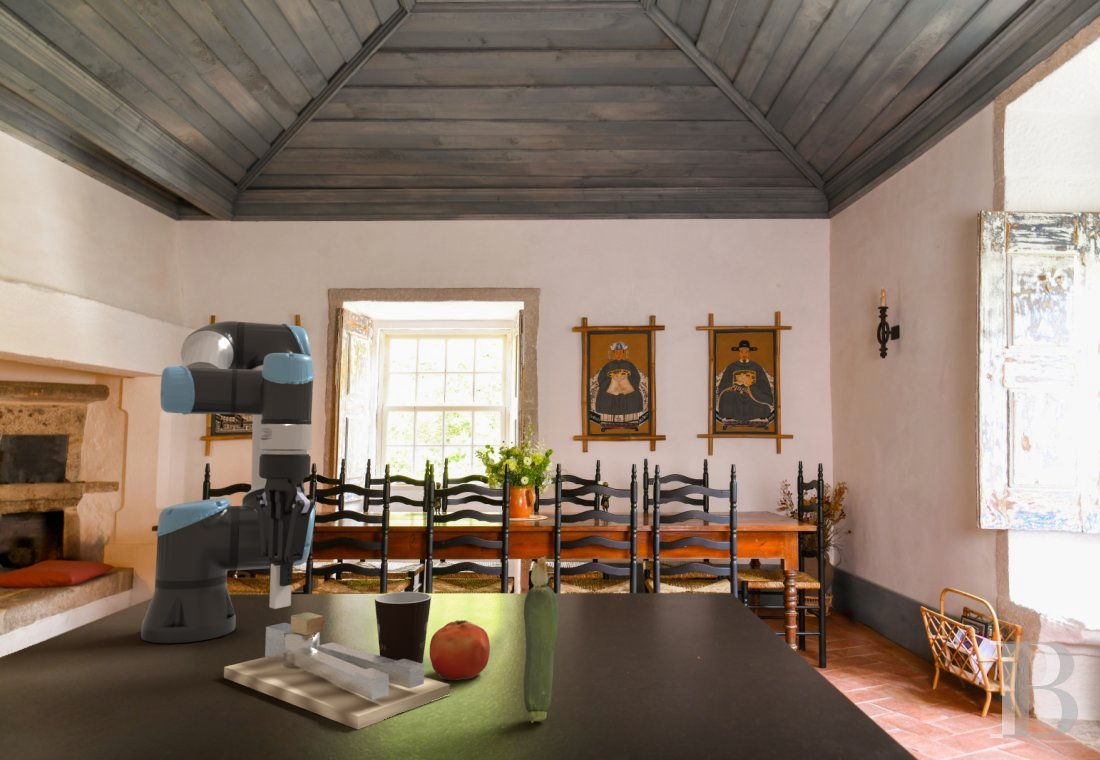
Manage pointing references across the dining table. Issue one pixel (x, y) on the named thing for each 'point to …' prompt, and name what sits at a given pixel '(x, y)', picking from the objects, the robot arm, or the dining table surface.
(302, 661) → the tong arm
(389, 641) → the coffee mug
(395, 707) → the board
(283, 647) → the base
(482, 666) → the tomato
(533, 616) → the vegetable
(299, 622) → the tab
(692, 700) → the dining table surface
